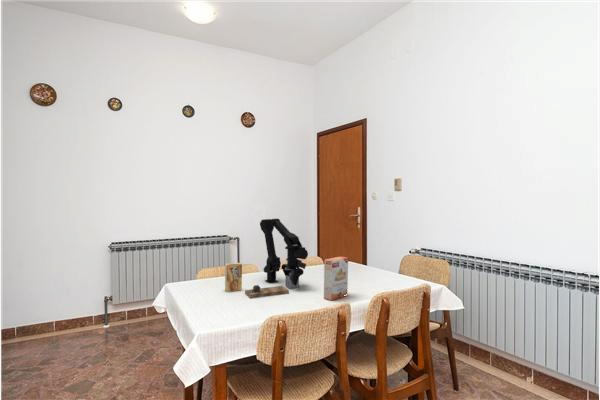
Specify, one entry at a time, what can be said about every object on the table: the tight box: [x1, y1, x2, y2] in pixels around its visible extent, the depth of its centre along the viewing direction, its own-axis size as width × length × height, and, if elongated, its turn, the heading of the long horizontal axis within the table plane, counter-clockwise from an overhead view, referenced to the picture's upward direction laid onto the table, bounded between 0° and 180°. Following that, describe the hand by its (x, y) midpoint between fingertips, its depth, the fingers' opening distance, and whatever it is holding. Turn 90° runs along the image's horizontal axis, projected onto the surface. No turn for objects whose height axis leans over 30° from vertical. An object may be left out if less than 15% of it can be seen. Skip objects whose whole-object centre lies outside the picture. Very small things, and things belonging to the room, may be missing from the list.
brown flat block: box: [244, 284, 290, 299], centre depth 197 cm, size 22×10×5 cm, turn 116°
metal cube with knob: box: [284, 273, 300, 290], centre depth 210 cm, size 6×6×8 cm
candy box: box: [224, 262, 243, 293], centre depth 203 cm, size 9×4×15 cm, turn 116°
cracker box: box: [323, 256, 349, 301], centre depth 190 cm, size 14×6×21 cm, turn 137°
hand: (292, 283), depth 210 cm, fingers open, 9 cm apart
